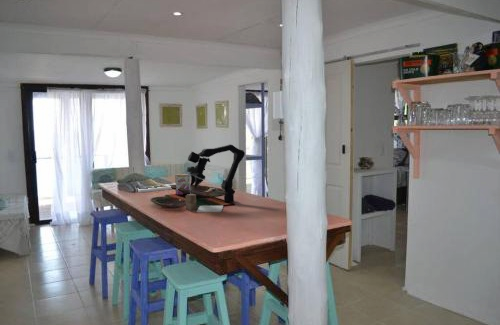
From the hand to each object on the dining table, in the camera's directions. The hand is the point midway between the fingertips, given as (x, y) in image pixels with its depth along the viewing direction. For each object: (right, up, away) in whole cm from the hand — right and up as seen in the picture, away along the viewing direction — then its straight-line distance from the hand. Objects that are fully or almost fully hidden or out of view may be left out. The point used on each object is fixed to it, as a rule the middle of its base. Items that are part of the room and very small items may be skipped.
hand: (192, 186), depth 272 cm
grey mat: (+13, -14, -12) cm, 23 cm away
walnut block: (0, -15, -11) cm, 18 cm away
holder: (-39, -7, +75) cm, 85 cm away
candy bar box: (-14, -9, +45) cm, 48 cm away
